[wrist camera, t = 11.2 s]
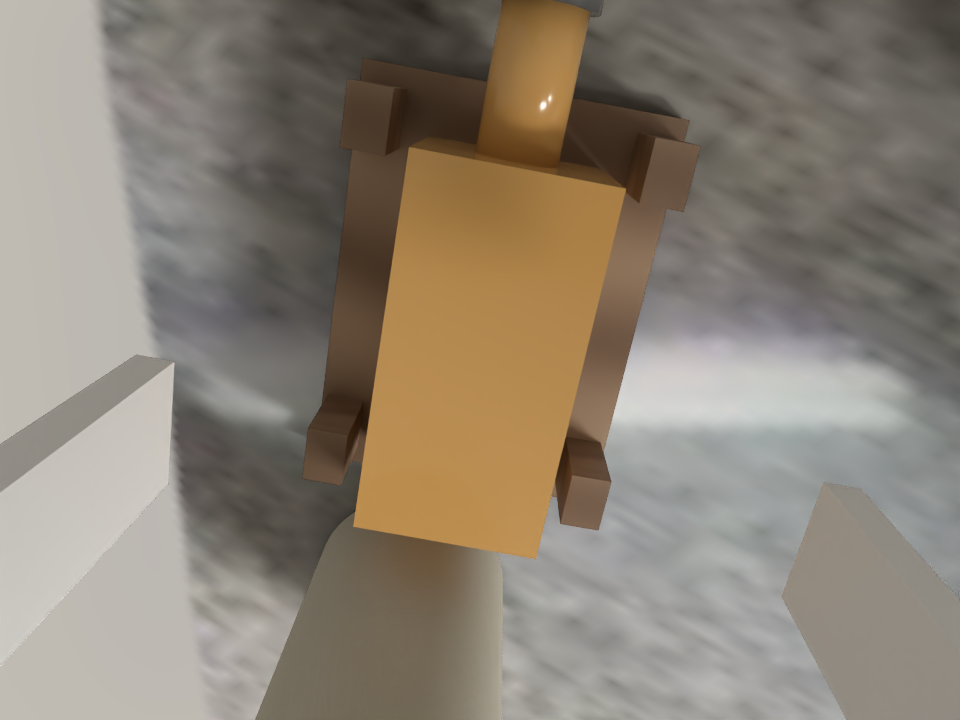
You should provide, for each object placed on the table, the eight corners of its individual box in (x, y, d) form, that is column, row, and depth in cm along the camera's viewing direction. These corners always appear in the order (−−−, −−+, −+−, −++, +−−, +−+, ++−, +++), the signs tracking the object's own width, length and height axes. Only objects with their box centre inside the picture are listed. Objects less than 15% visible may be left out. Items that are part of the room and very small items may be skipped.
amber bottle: (530, 472, 30) (535, 558, 25) (382, 445, 30) (353, 526, 24) (642, -14, 24) (683, -47, 19) (459, -50, 24) (444, -95, 19)
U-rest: (367, 59, 26) (343, 53, 22) (682, 119, 27) (714, 123, 23) (321, 444, 31) (294, 494, 27) (587, 491, 32) (599, 547, 28)
